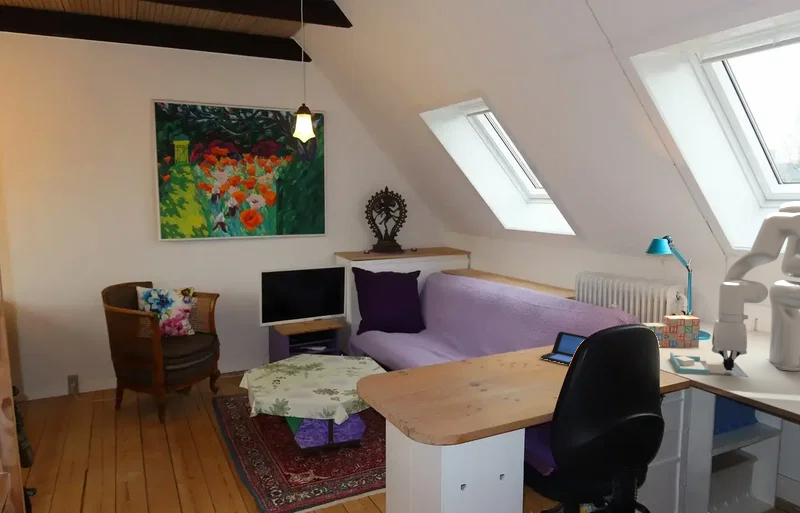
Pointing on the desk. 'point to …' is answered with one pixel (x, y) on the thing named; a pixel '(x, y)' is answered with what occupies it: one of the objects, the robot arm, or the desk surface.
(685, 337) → the stack of blocks
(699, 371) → the box
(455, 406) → the desk surface
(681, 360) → the tile
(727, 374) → the plate
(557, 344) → the handheld game console
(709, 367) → the off-white rectangular block
